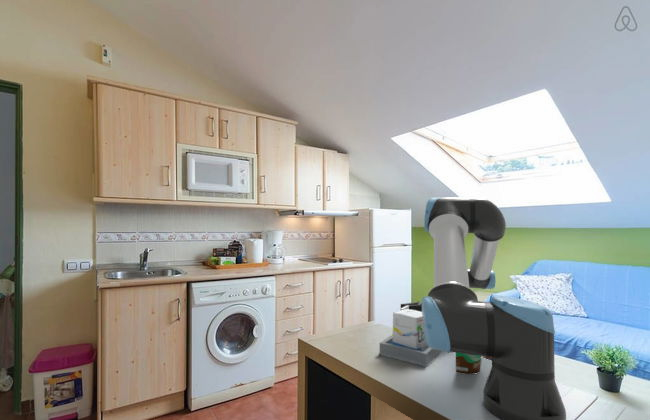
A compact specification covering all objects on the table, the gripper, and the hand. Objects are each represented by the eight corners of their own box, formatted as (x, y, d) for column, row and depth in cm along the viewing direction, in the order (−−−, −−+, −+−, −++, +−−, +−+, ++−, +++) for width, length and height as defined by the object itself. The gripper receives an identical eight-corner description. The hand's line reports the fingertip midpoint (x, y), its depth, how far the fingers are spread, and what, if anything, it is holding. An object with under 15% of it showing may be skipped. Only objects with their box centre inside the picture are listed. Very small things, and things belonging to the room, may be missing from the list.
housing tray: (426, 366, 92) (426, 354, 92) (379, 354, 100) (379, 342, 100) (440, 351, 103) (440, 340, 104) (397, 342, 112) (397, 331, 112)
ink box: (415, 358, 96) (416, 317, 96) (391, 349, 102) (391, 312, 103) (430, 351, 102) (430, 313, 102) (406, 343, 108) (406, 308, 108)
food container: (479, 380, 84) (479, 341, 84) (454, 374, 87) (454, 335, 88) (489, 365, 94) (488, 330, 94) (466, 360, 97) (466, 325, 98)
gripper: (473, 320, 120) (459, 335, 102) (407, 309, 134) (385, 321, 117) (473, 299, 120) (459, 310, 103) (407, 291, 134) (386, 299, 117)
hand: (420, 316), depth 110 cm, fingers open, 13 cm apart
